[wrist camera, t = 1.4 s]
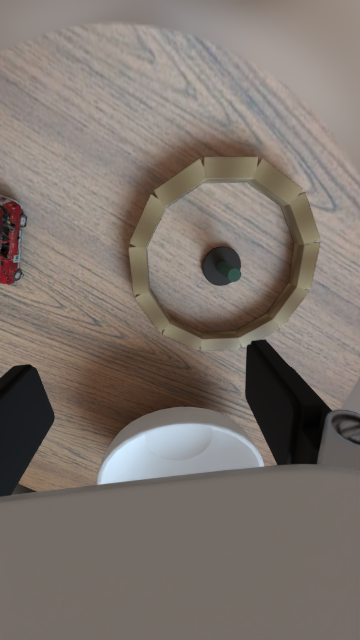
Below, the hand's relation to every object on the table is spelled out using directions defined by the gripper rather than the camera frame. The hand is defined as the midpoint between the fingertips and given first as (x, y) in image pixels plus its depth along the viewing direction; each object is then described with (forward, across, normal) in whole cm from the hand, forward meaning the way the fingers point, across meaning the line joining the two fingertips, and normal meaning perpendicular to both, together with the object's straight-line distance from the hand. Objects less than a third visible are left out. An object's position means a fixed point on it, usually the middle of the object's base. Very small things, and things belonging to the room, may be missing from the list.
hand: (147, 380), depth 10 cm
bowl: (+16, 0, +22) cm, 27 cm away
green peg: (+16, -7, -2) cm, 17 cm away
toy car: (+16, +14, -6) cm, 22 cm away
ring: (+16, -7, -2) cm, 17 cm away
